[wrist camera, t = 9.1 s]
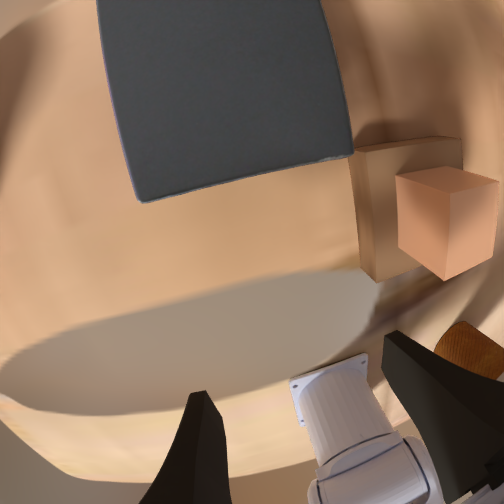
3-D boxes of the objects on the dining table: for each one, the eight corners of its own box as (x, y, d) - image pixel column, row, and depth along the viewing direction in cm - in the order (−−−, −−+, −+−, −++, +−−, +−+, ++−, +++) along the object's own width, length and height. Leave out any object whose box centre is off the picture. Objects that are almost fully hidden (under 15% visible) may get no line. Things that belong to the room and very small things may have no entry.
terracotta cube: (446, 230, 18) (492, 256, 13) (398, 247, 18) (444, 280, 13) (446, 165, 16) (499, 181, 11) (395, 175, 16) (450, 193, 11)
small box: (141, 18, 12) (84, -72, 2) (243, -4, 12) (280, -108, 3) (175, 168, 16) (127, 214, 7) (280, 142, 17) (368, 157, 7)
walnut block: (439, 236, 22) (461, 248, 19) (357, 265, 21) (376, 283, 19) (435, 135, 18) (460, 138, 15) (343, 149, 18) (364, 152, 15)
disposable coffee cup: (484, 300, 26) (543, 354, 15) (462, 355, 30) (508, 409, 19) (434, 322, 25) (500, 395, 14) (414, 379, 29) (459, 446, 18)
